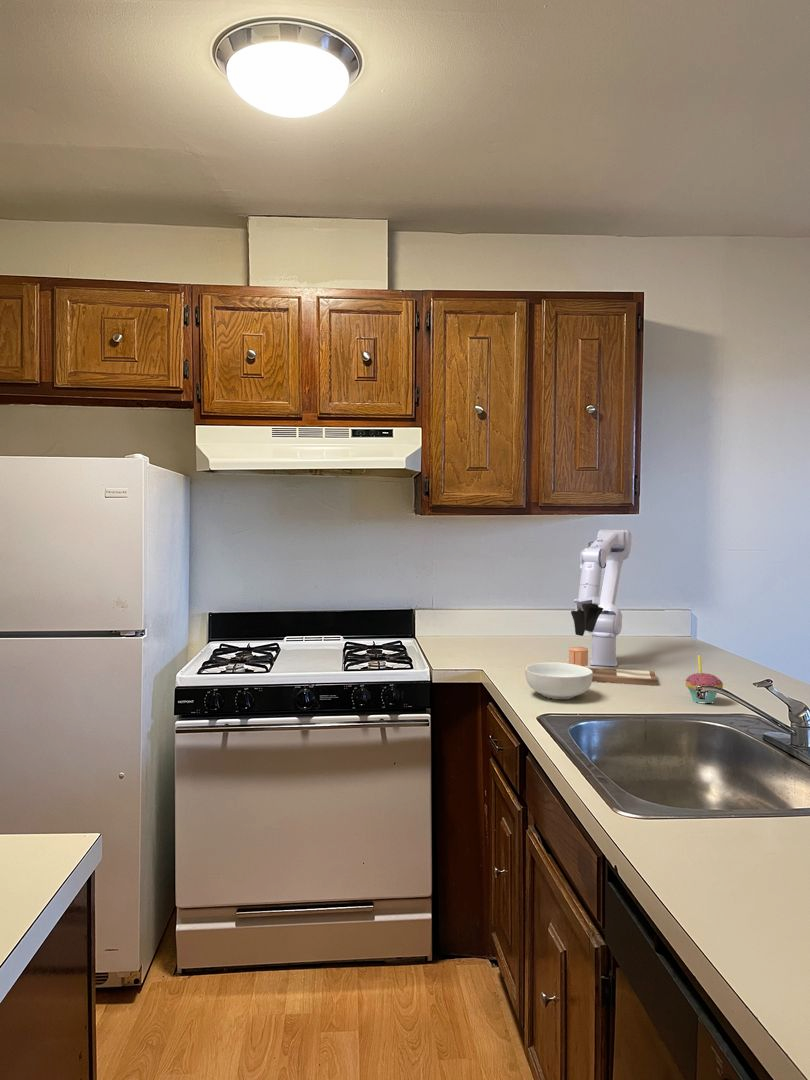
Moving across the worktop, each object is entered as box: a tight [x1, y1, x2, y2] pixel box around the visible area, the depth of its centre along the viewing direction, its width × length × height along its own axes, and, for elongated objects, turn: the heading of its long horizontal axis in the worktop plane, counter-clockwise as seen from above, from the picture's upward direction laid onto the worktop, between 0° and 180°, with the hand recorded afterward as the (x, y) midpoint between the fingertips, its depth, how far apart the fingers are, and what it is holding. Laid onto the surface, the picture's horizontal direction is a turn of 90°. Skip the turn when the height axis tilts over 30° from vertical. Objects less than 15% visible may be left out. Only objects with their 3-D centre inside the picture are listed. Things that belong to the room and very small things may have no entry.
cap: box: [568, 646, 589, 667], centre depth 205 cm, size 5×5×5 cm
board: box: [588, 667, 658, 687], centre depth 203 cm, size 11×28×8 cm, turn 74°
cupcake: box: [685, 652, 724, 704], centre depth 178 cm, size 9×8×12 cm
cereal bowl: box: [524, 661, 593, 700], centre depth 184 cm, size 17×17×7 cm
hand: (584, 633), depth 204 cm, fingers open, 7 cm apart
